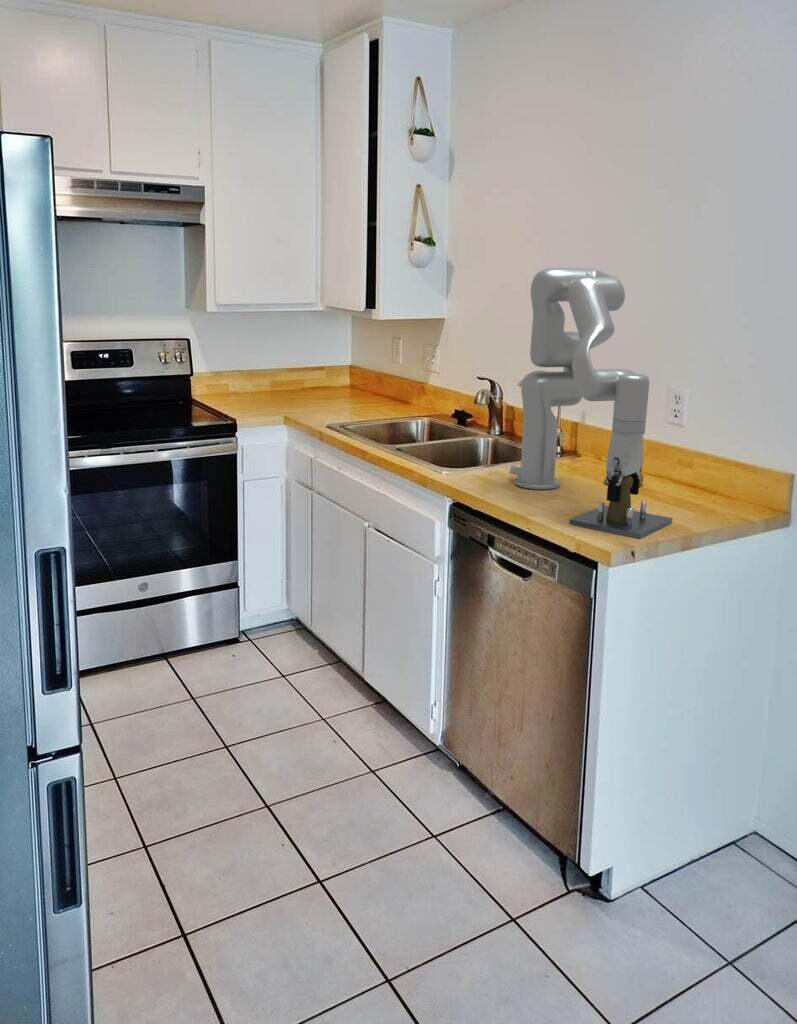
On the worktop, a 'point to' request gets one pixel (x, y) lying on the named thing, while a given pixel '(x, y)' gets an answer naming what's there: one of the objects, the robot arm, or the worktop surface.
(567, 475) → the worktop surface
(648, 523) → the pin plate
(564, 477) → the worktop surface
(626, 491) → the olive tapered piece
